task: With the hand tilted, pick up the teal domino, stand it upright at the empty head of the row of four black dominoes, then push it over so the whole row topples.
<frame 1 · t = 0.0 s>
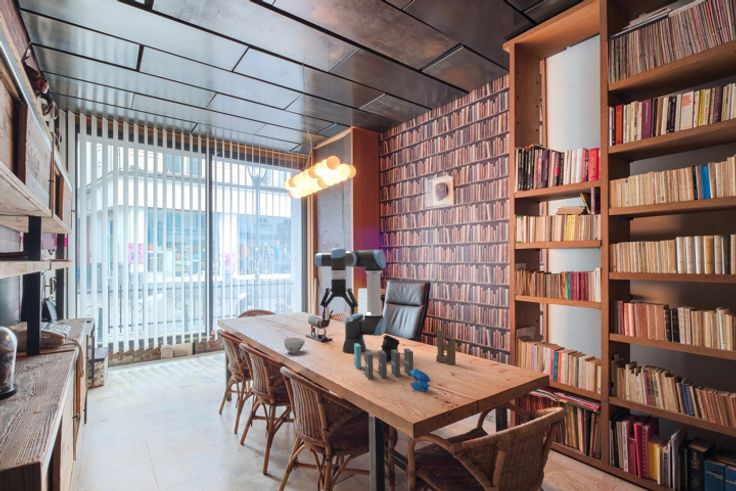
hand: (339, 320, 187), 28 cm above the table, tool pointing down, fingers open, 13 cm apart
domino 2: (369, 377, 183), on the table
domino 5: (408, 373, 188), on the table
teacup: (295, 352, 235), on the table
domino 3: (382, 376, 185), on the table
magazine: (390, 360, 213), on the table
teal domino: (357, 366, 201), on the table
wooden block: (445, 363, 207), on the table
domino 4: (395, 374, 187), on the table
crystal: (419, 389, 166), on the table
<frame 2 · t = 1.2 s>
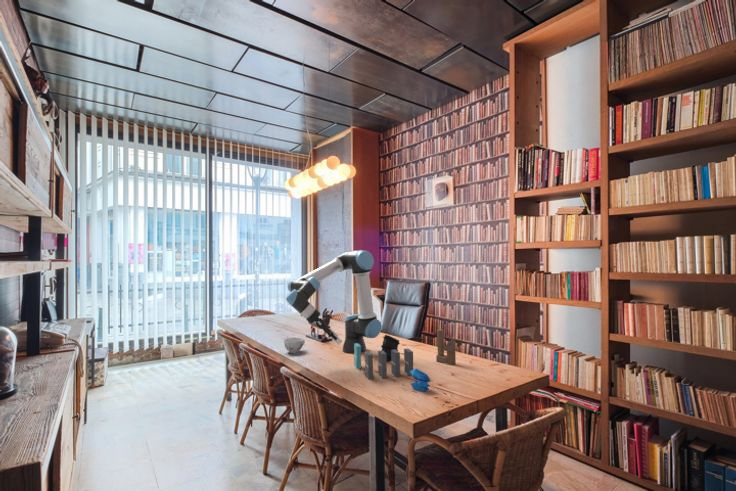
hand: (338, 340, 199), 15 cm above the table, tool tilted 45°, fingers open, 13 cm apart
nothing on the table moved.
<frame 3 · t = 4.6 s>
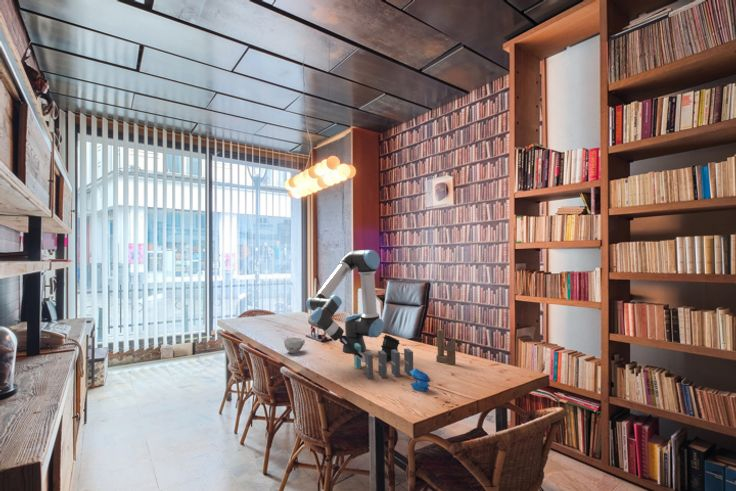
hand: (363, 359, 202), 4 cm above the table, tool tilted 45°, fingers closed on teal domino, 7 cm apart
teal domino: (357, 366, 201), on the table, touching gripper
everything else where it was.
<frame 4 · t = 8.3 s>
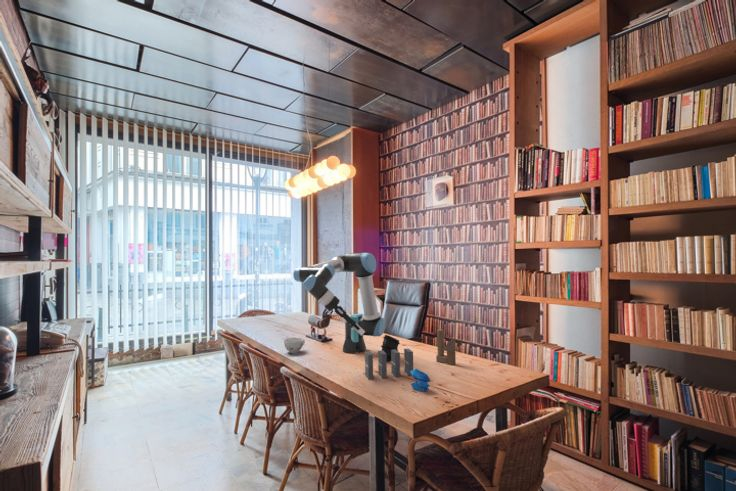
hand: (361, 332, 183), 23 cm above the table, tool tilted 45°, fingers closed on teal domino, 7 cm apart
teal domino: (354, 340, 182), point 19 cm above the table, touching gripper
everything else where it was.
when the fingers open (5 cm above the table, at t = 12.0 s): teal domino stays where it is, on the table.
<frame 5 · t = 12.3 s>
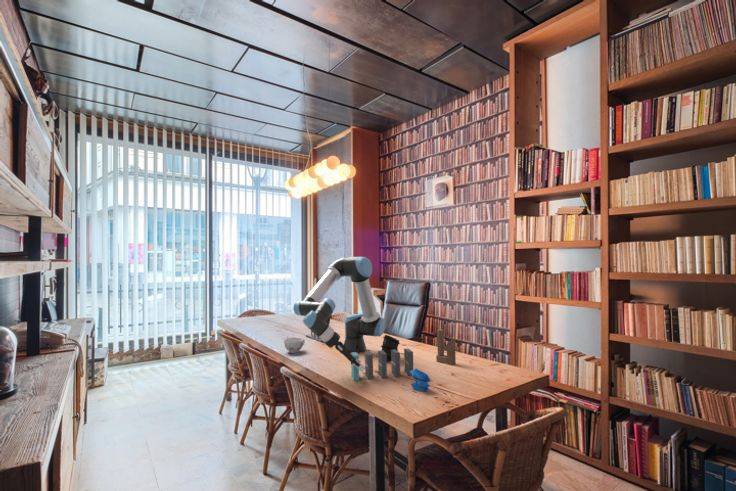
hand: (361, 366, 183), 6 cm above the table, tool tilted 45°, fingers open, 10 cm apart
teal domino: (355, 378, 182), on the table
everything else where it was.
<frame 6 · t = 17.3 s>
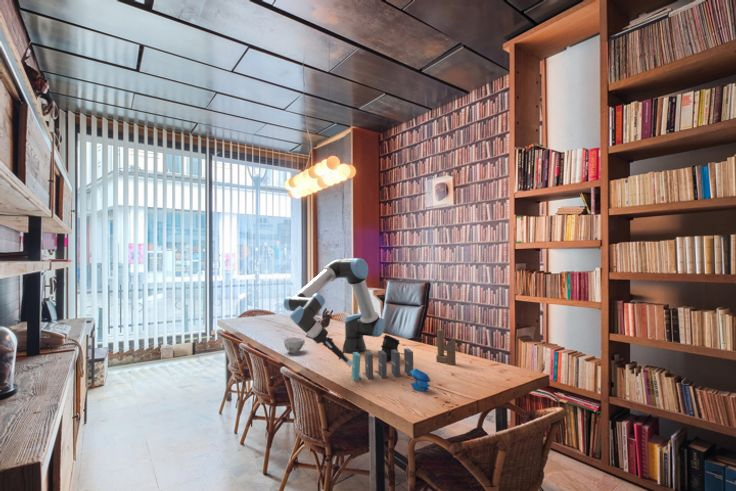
hand: (351, 364, 181), 7 cm above the table, tool tilted 45°, fingers closed
teal domino: (355, 378, 182), on the table, touching gripper
everything else where it was.
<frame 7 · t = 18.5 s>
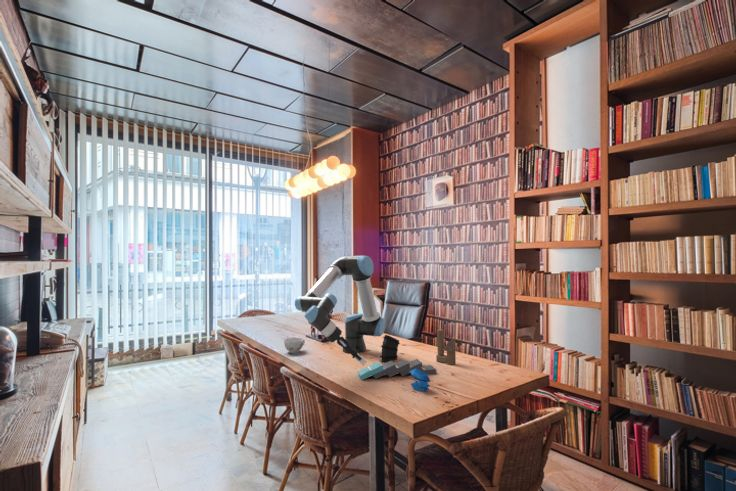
hand: (364, 363, 183), 7 cm above the table, tool tilted 45°, fingers closed
domino 2: (372, 374, 184), point 1 cm above the table, tilted 70°, touching domino 3, teal domino
domino 5: (411, 371, 189), point 1 cm above the table, tilted 89°, touching domino 4
domino 3: (386, 373, 186), point 1 cm above the table, tilted 70°, touching domino 2, domino 4
teal domino: (359, 375, 182), point 1 cm above the table, tilted 70°, touching domino 2
domino 4: (399, 372, 187), point 1 cm above the table, tilted 70°, touching domino 3, domino 5
everything else where it was.
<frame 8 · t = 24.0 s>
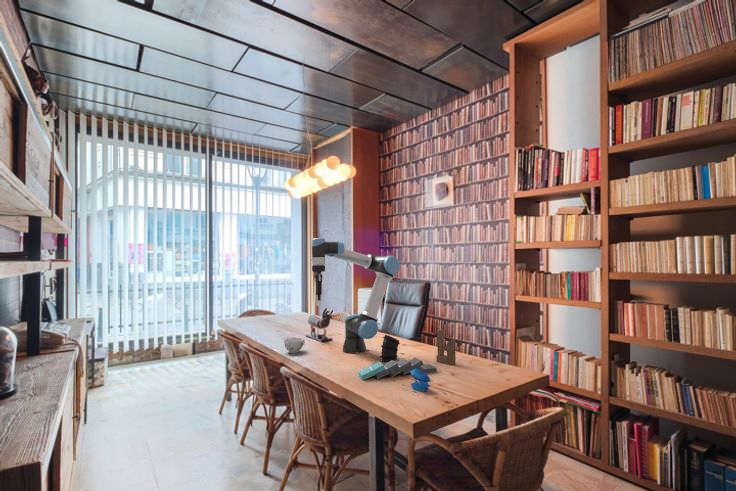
hand: (318, 305, 211), 32 cm above the table, tool pointing down, fingers closed
domino 2: (375, 374, 184), point 1 cm above the table, tilted 69°, touching domino 3, teal domino
domino 5: (412, 370, 190), point 1 cm above the table, tilted 89°
domino 4: (400, 371, 188), point 1 cm above the table, tilted 71°, touching domino 3
at the end: domino 5 tilted 89°; teal domino tilted 70°; teal domino inside the target area (1.9 cm from its centre), point 1.1 cm above the table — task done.
